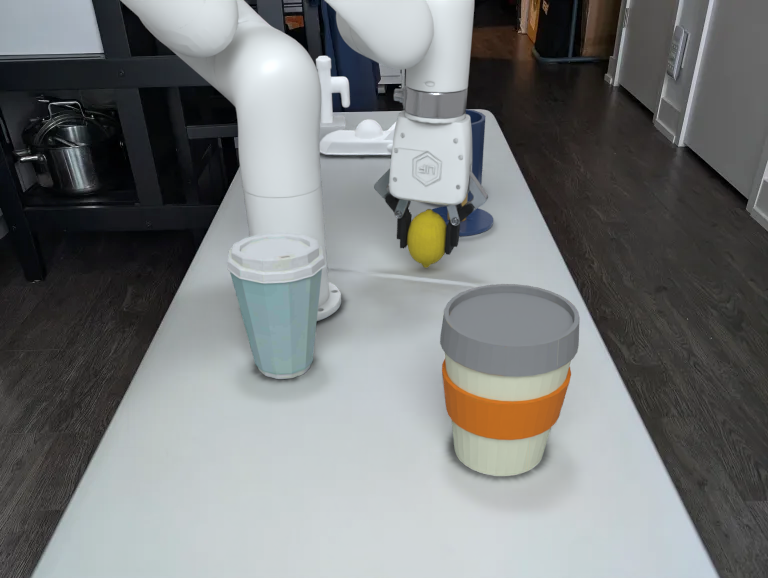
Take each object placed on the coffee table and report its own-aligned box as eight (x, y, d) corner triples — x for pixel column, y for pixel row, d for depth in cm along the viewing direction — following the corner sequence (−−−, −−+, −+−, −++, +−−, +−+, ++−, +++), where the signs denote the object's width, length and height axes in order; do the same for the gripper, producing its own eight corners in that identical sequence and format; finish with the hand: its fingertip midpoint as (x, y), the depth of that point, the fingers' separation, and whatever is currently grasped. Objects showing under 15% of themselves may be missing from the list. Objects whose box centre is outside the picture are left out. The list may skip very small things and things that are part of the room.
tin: (474, 209, 131) (478, 128, 123) (412, 203, 134) (413, 123, 126) (486, 188, 139) (491, 110, 131) (427, 183, 141) (428, 106, 133)
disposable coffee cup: (232, 353, 97) (213, 231, 87) (317, 336, 99) (308, 216, 90) (254, 397, 89) (235, 269, 79) (345, 378, 92) (338, 252, 82)
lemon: (446, 260, 112) (450, 203, 107) (444, 276, 108) (449, 217, 103) (407, 258, 113) (409, 201, 108) (404, 274, 109) (406, 215, 103)
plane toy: (321, 142, 160) (319, 111, 157) (421, 144, 158) (421, 112, 155) (312, 159, 153) (310, 126, 149) (416, 161, 151) (417, 128, 147)
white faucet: (352, 145, 159) (348, 60, 149) (304, 147, 158) (298, 62, 149) (350, 134, 164) (347, 52, 155) (305, 136, 164) (298, 54, 154)
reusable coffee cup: (457, 405, 87) (464, 275, 77) (572, 427, 83) (594, 293, 74) (419, 471, 78) (421, 334, 68) (546, 499, 75) (566, 358, 65)
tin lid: (485, 243, 121) (488, 195, 116) (412, 236, 123) (412, 188, 118) (498, 216, 129) (502, 170, 124) (430, 210, 131) (431, 164, 127)
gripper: (359, 103, 96) (358, 249, 108) (499, 117, 93) (483, 267, 104) (377, 89, 102) (375, 230, 113) (510, 102, 98) (494, 246, 110)
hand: (427, 246), depth 109 cm, fingers closed on lemon, 5 cm apart
